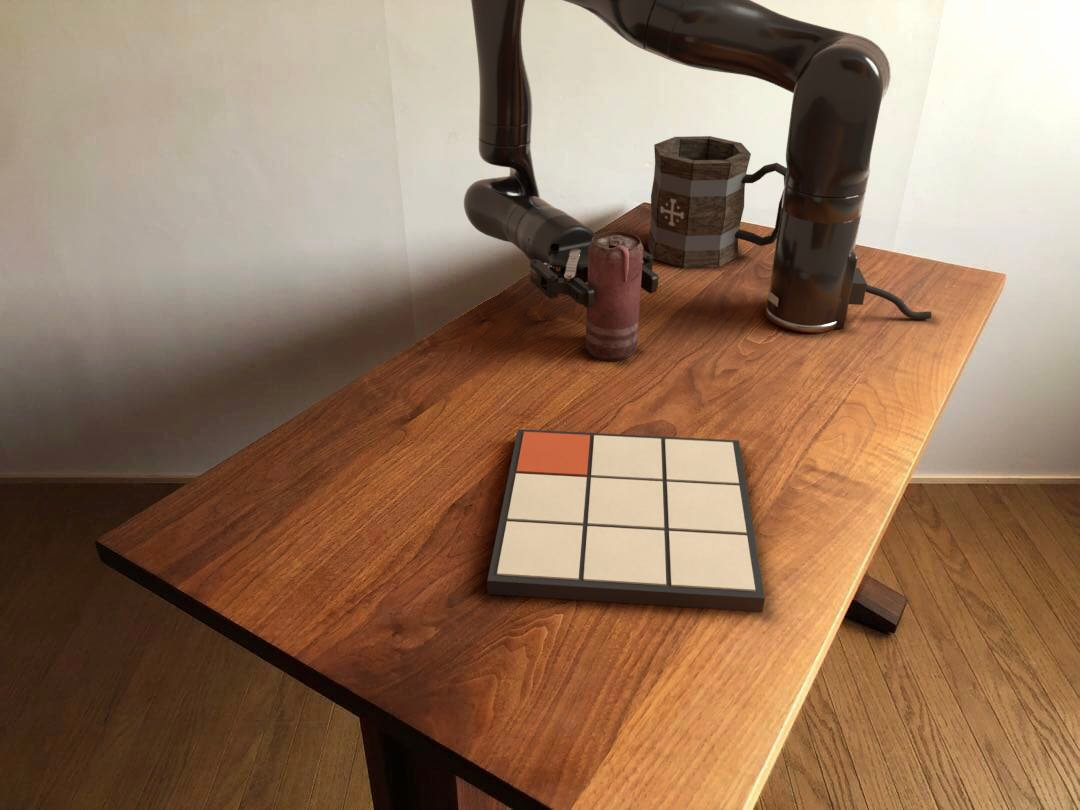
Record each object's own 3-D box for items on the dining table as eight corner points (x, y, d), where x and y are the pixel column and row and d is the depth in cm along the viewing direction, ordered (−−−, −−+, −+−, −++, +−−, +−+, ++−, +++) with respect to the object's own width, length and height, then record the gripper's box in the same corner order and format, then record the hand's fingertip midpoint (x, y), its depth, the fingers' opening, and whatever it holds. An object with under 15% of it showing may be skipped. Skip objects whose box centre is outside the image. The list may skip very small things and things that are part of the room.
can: (603, 368, 105) (608, 254, 98) (576, 344, 110) (579, 234, 102) (647, 356, 107) (655, 244, 100) (619, 333, 112) (625, 225, 105)
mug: (636, 261, 131) (642, 158, 123) (657, 228, 142) (664, 131, 134) (775, 280, 126) (791, 173, 118) (785, 244, 136) (801, 144, 128)
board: (737, 452, 91) (739, 438, 90) (762, 612, 72) (765, 596, 71) (518, 441, 93) (517, 427, 92) (487, 594, 74) (487, 578, 73)
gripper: (504, 224, 110) (568, 273, 98) (606, 205, 116) (679, 250, 103) (506, 281, 114) (567, 335, 102) (604, 260, 120) (674, 309, 107)
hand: (623, 292), depth 103 cm, fingers open, 8 cm apart
